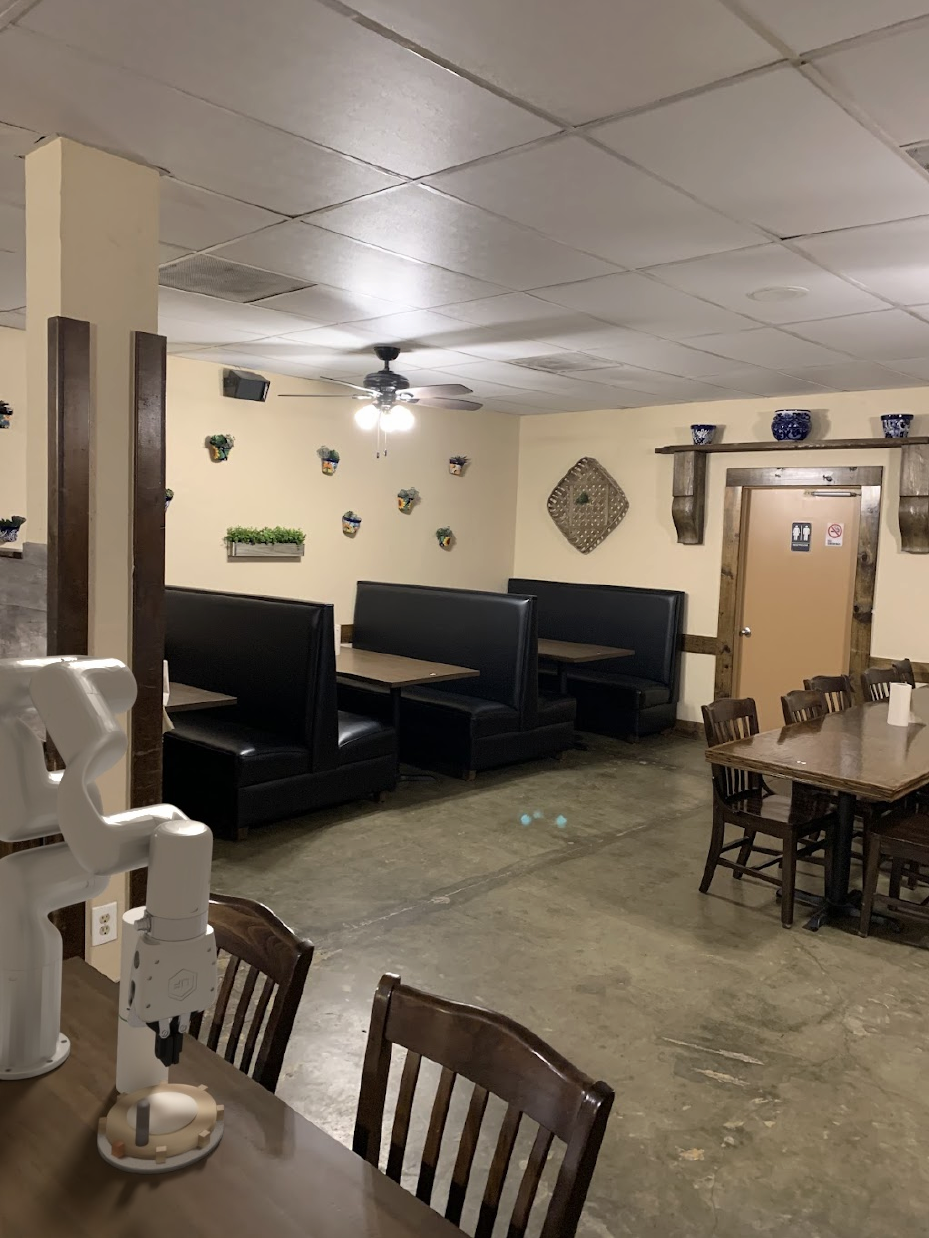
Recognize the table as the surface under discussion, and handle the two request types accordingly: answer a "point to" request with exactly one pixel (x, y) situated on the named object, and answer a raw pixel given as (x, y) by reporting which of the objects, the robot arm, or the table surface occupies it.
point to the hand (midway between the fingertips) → (167, 1059)
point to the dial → (161, 1121)
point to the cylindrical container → (134, 1043)
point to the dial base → (150, 1164)
